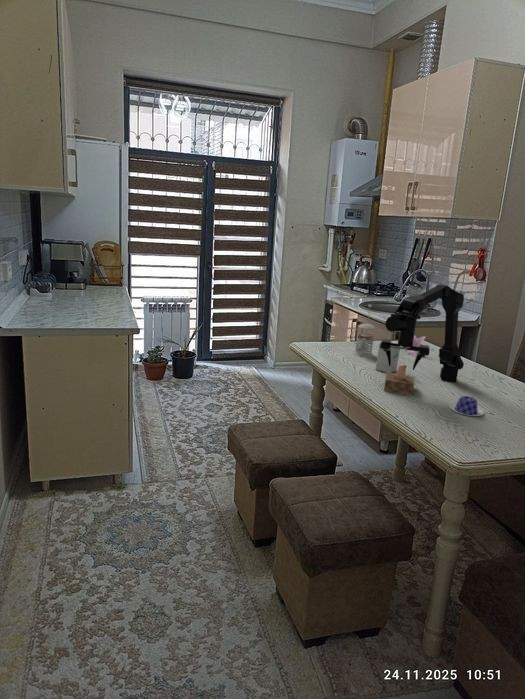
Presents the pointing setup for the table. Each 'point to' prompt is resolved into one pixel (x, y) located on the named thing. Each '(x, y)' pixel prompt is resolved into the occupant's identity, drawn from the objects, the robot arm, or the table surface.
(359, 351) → the french press
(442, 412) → the table surface
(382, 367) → the supplement box
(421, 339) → the lily
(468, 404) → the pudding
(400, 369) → the pin
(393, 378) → the bore block
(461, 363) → the robot arm
